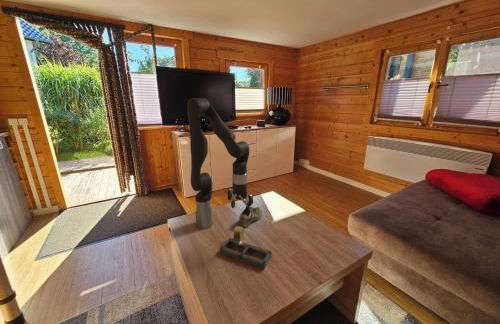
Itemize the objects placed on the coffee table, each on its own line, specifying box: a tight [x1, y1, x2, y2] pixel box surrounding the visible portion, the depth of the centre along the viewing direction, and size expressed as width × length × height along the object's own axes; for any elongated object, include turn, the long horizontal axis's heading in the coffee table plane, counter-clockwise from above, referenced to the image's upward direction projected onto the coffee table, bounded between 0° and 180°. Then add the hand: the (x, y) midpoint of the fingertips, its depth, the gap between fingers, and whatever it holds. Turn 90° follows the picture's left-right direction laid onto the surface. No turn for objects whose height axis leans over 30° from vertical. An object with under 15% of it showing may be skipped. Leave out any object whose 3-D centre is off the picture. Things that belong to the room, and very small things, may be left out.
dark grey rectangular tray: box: [219, 238, 273, 270], centre depth 105 cm, size 24×9×3 cm, turn 63°
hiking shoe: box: [238, 206, 263, 228], centre depth 135 cm, size 9×21×12 cm, turn 146°
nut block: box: [232, 225, 245, 242], centre depth 116 cm, size 4×4×7 cm
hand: (240, 209), depth 112 cm, fingers open, 8 cm apart
